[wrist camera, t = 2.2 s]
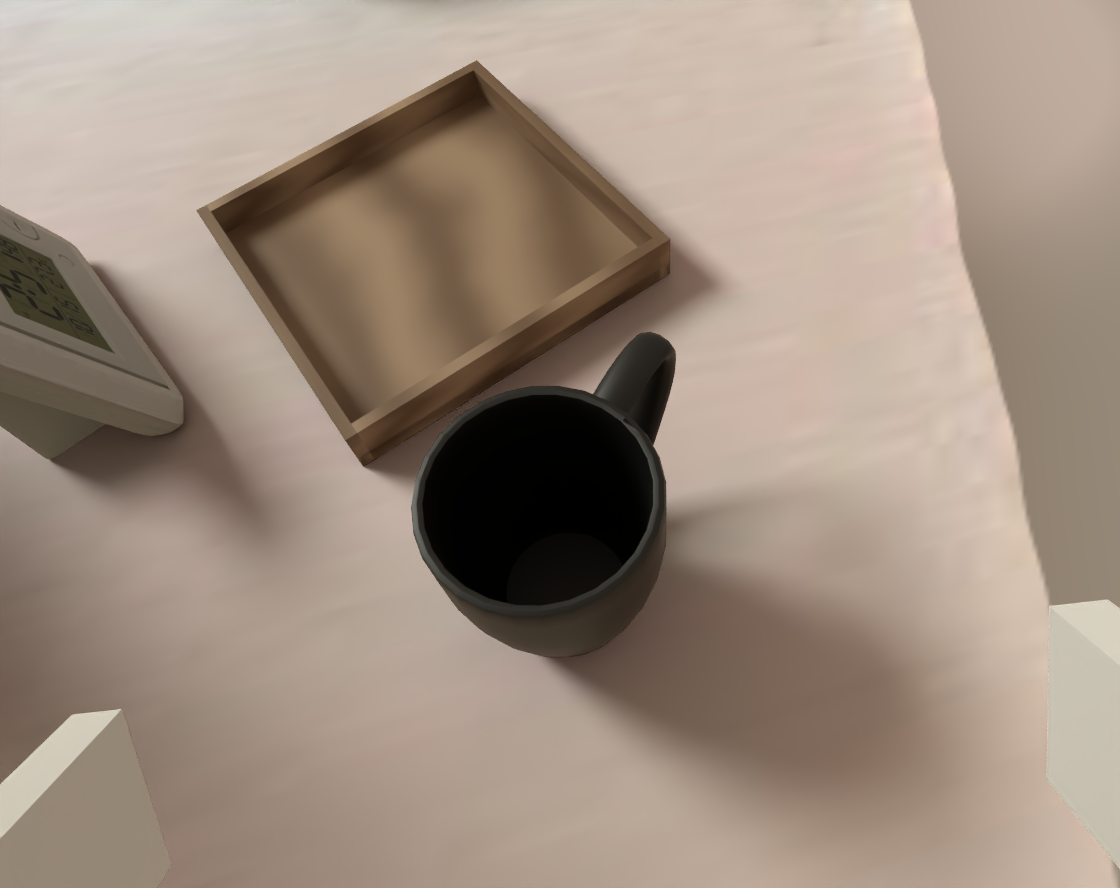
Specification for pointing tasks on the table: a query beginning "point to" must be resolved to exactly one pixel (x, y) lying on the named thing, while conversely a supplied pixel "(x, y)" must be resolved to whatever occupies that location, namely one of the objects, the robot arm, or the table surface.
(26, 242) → the digital clock
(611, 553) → the mug
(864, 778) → the table surface
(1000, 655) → the table surface
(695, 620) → the table surface
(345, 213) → the walnut tray
